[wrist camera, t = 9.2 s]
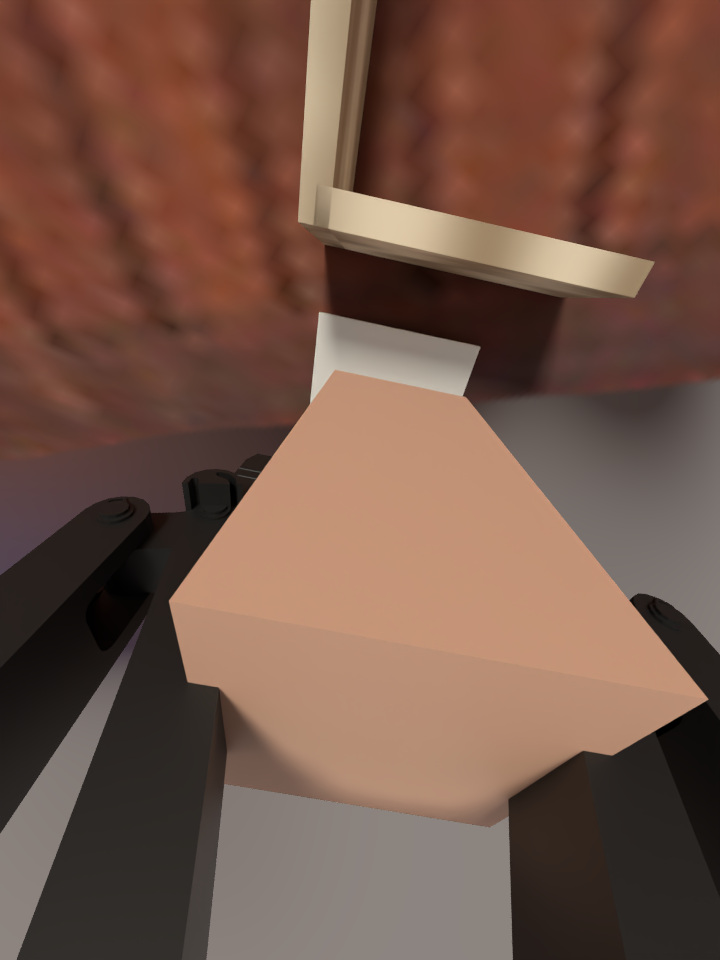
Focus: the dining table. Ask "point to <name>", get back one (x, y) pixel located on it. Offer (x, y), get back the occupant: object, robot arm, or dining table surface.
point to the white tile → (390, 355)
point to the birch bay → (408, 229)
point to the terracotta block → (413, 618)
